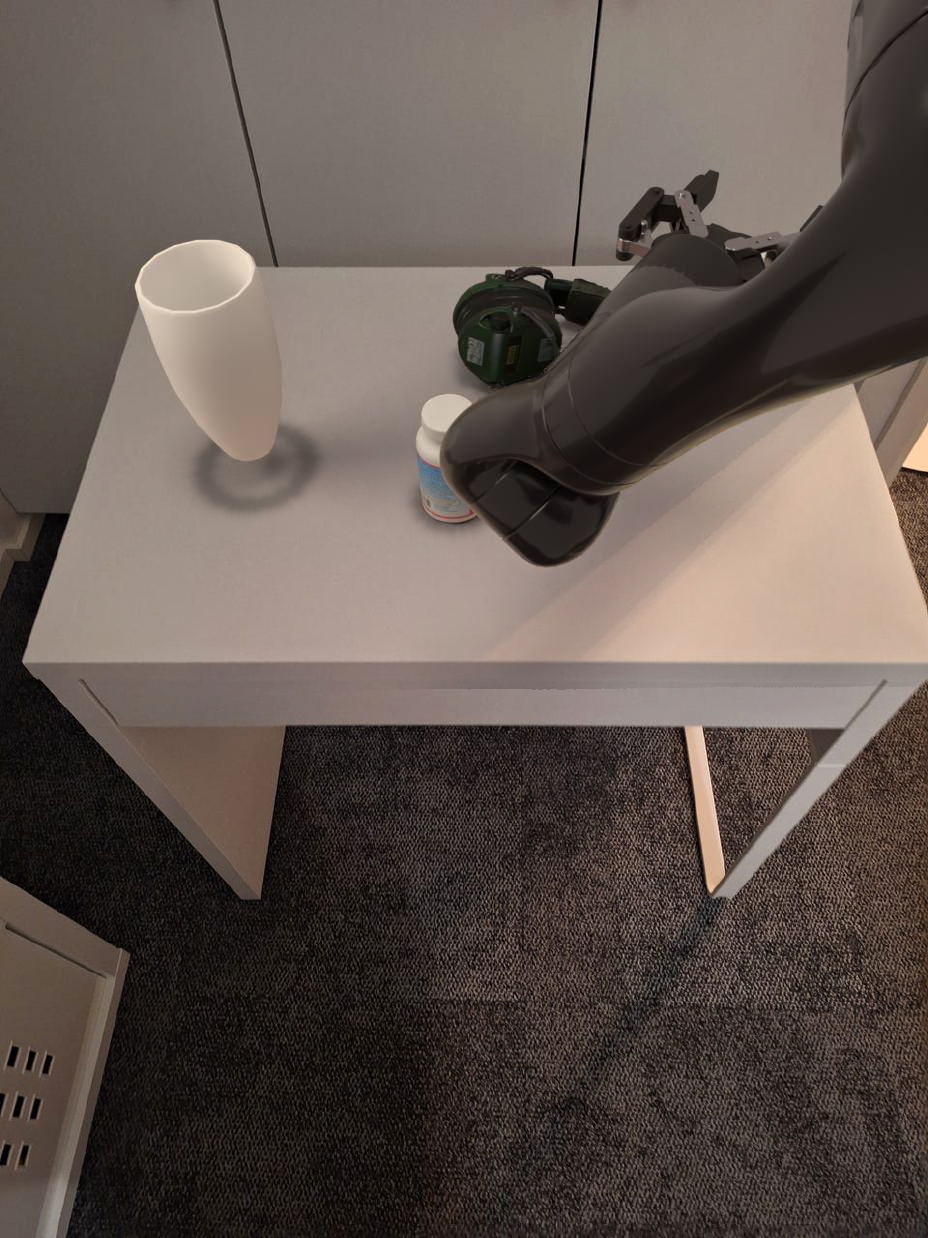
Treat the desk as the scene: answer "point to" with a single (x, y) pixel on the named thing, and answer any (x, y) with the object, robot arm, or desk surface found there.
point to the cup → (216, 341)
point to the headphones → (519, 322)
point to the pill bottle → (428, 444)
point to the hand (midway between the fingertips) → (765, 199)
